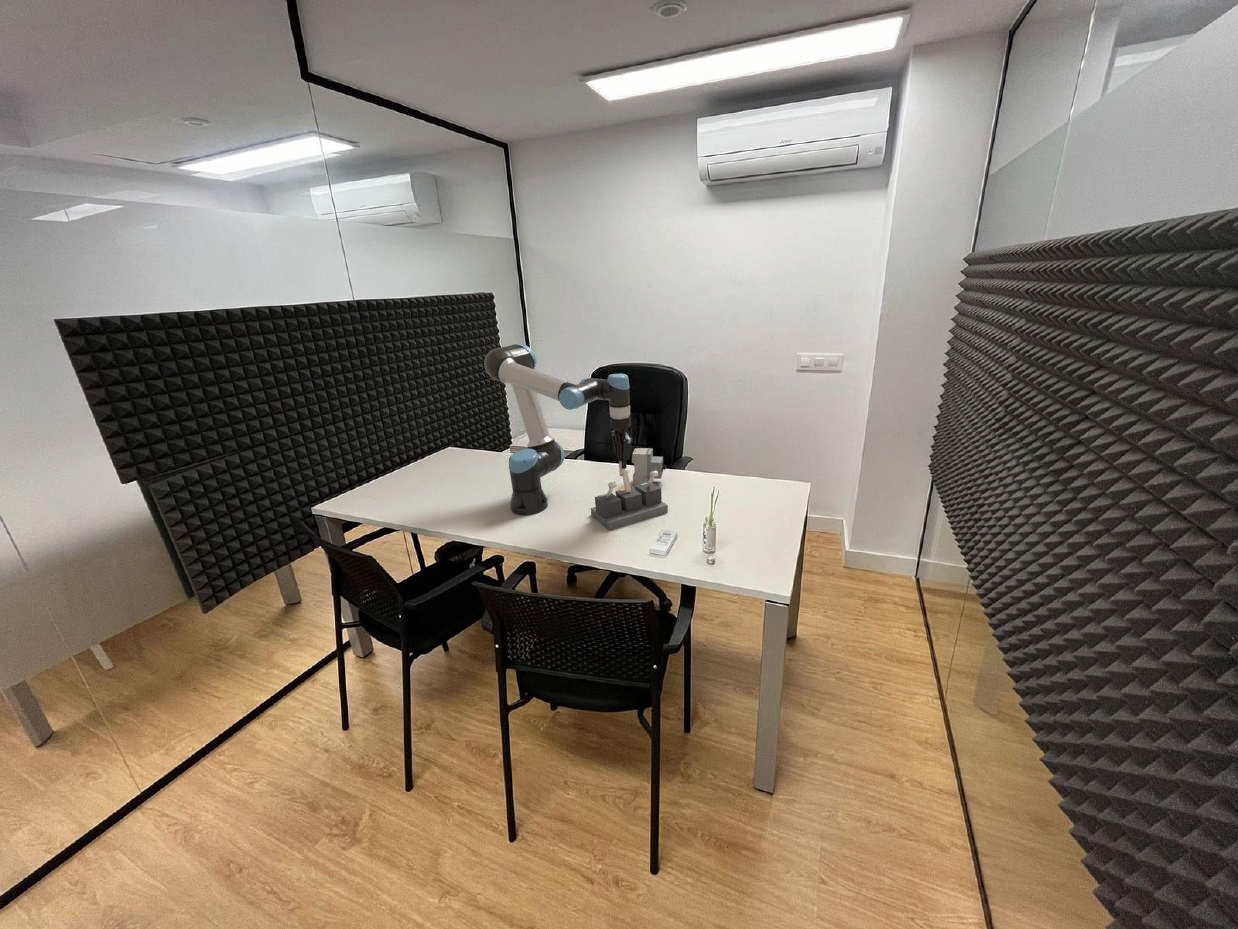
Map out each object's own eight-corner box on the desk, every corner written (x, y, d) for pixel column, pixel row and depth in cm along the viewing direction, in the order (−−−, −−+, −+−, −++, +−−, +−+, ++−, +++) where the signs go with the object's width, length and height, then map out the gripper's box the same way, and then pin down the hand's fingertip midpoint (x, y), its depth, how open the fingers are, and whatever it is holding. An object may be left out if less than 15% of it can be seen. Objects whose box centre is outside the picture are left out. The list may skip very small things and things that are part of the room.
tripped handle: (624, 492, 186) (619, 469, 185) (629, 490, 187) (625, 467, 186) (626, 492, 184) (622, 469, 183) (632, 490, 185) (627, 467, 184)
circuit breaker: (665, 486, 211) (664, 454, 206) (633, 485, 214) (631, 453, 209) (666, 480, 218) (666, 448, 213) (635, 479, 221) (634, 448, 216)
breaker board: (591, 515, 189) (588, 474, 183) (647, 498, 201) (646, 460, 194) (609, 530, 177) (606, 487, 171) (667, 512, 188) (667, 471, 182)
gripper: (637, 418, 174) (640, 478, 183) (620, 411, 185) (623, 468, 193) (619, 422, 171) (623, 482, 180) (603, 414, 181) (607, 472, 190)
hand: (623, 475), depth 187 cm, fingers closed
